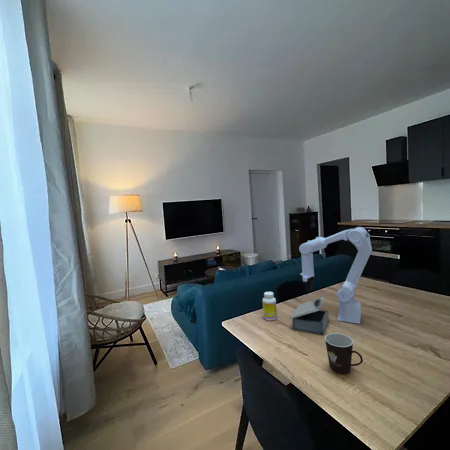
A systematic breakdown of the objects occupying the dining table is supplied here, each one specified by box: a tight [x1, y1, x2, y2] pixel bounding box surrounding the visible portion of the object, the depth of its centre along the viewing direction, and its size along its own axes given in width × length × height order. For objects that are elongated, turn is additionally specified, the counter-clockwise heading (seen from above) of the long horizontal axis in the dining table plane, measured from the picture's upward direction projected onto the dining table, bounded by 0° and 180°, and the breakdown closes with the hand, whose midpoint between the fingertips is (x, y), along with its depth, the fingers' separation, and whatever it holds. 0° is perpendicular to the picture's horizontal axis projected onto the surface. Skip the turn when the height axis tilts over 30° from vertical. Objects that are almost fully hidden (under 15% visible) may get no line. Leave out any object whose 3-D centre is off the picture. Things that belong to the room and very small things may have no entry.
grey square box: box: [291, 309, 330, 336], centre depth 114 cm, size 13×14×5 cm
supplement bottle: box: [262, 291, 278, 321], centre depth 124 cm, size 7×7×13 cm
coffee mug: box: [324, 332, 364, 375], centre depth 82 cm, size 12×9×10 cm
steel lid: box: [290, 296, 326, 320], centre depth 114 cm, size 14×15×2 cm
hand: (309, 291), depth 129 cm, fingers closed
